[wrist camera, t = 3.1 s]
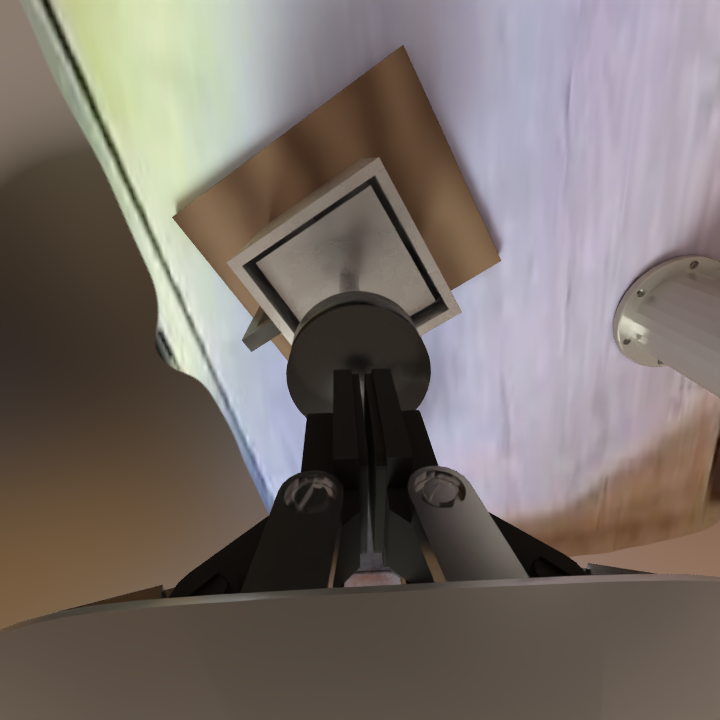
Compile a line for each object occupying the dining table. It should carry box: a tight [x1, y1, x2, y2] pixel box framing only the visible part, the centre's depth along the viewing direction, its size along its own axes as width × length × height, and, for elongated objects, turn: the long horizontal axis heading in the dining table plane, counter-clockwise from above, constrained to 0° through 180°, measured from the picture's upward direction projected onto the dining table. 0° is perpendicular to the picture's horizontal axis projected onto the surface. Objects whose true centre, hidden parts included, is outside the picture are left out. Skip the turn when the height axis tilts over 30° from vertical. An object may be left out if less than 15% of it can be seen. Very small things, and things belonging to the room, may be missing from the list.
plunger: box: [256, 184, 435, 418], centre depth 20 cm, size 8×8×13 cm
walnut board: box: [172, 46, 501, 360], centre depth 38 cm, size 24×20×1 cm
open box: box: [227, 157, 462, 352], centre depth 31 cm, size 13×10×16 cm
